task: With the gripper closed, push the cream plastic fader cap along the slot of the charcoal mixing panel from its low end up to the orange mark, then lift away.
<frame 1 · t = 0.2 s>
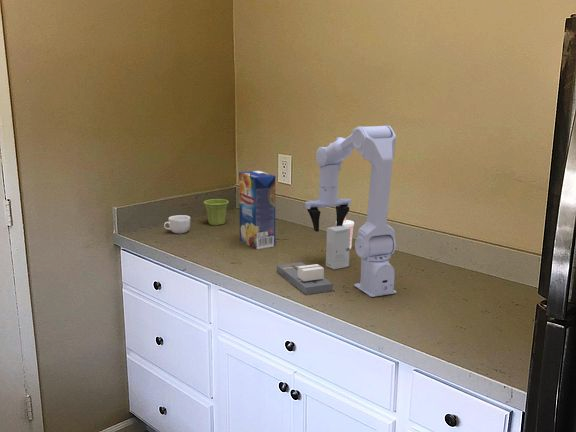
hand: (327, 229, 188), 10 cm above the worktop, fingers open, 7 cm apart
teacup: (177, 233, 221), on the worktop
plant pot: (216, 224, 234), on the worktop
mixing panel: (303, 280, 172), on the worktop
skincare box: (337, 266, 185), on the worktop
juice carton: (257, 243, 208), on the worktop
fader: (310, 272, 167), point 4 cm above the worktop, slide at 0.0 cm
beverage cup: (344, 248, 204), on the worktop
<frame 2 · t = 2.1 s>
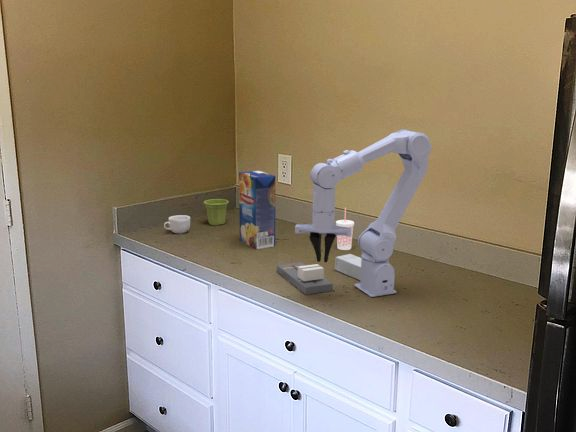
hand: (322, 260, 160), 9 cm above the worktop, fingers closed
skincare box: (342, 260, 183), point 2 cm above the worktop
everything else where it was.
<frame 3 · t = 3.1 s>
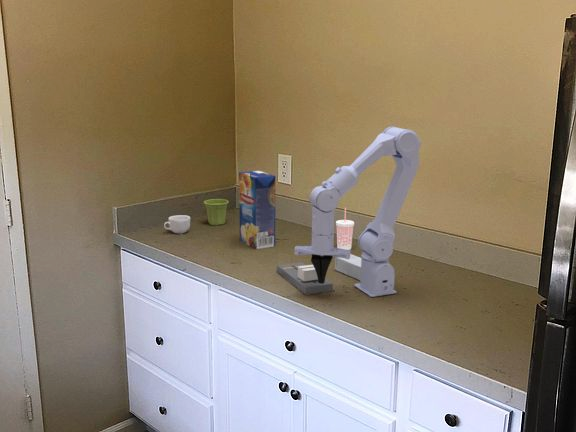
hand: (321, 282, 161), 3 cm above the worktop, fingers closed
nothing on the worktop moved.
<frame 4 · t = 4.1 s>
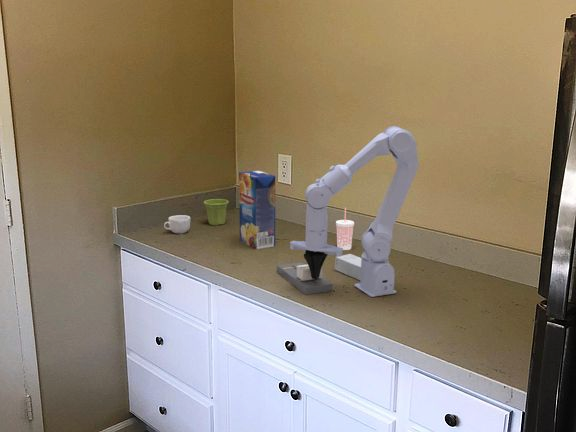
hand: (315, 277, 165), 3 cm above the worktop, fingers closed
fader: (309, 271, 168), point 4 cm above the worktop, slide at 0.8 cm, touching gripper
everything else where it was.
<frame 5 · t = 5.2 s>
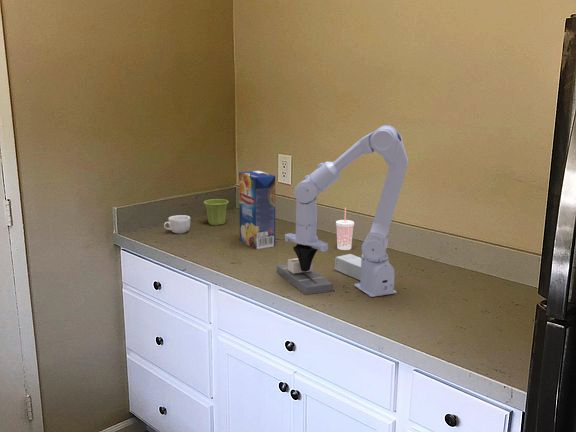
hand: (305, 270, 170), 3 cm above the worktop, fingers closed
fader: (300, 265, 174), point 4 cm above the worktop, slide at 7.0 cm, touching gripper
everything else where it was.
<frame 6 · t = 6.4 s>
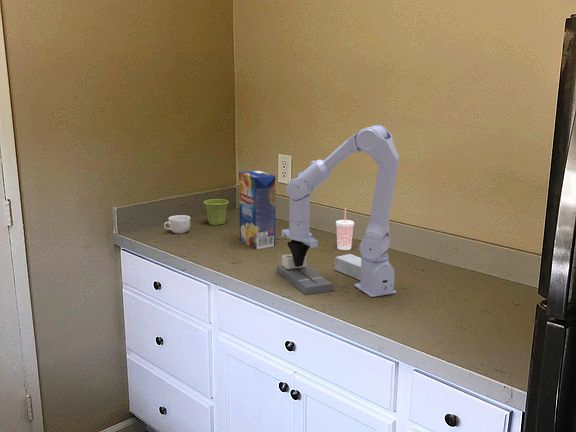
hand: (298, 265, 174), 3 cm above the worktop, fingers closed
fader: (294, 260, 177), point 4 cm above the worktop, slide at 11.1 cm, touching gripper
everything else where it was.
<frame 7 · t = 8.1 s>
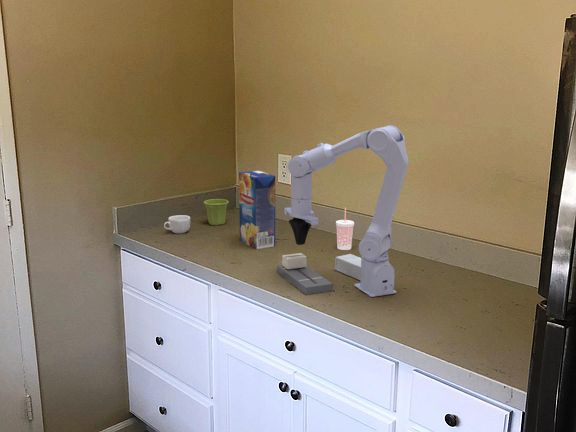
hand: (300, 244, 174), 10 cm above the worktop, fingers closed
fader: (294, 260, 177), point 4 cm above the worktop, slide at 11.0 cm
everything else where it was.
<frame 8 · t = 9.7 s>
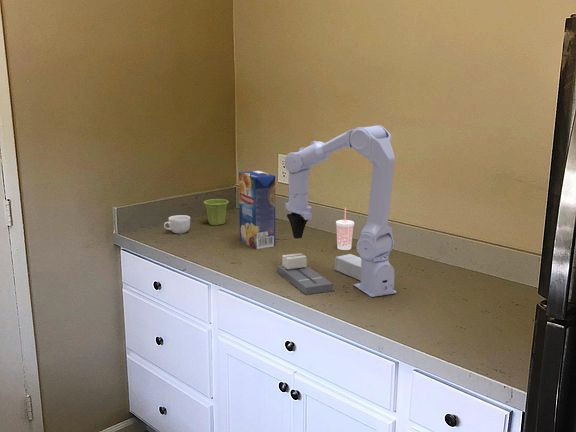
hand: (297, 237, 181), 9 cm above the worktop, fingers closed
nothing on the worktop moved.
at the end: fader slide at 11.0 cm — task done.
